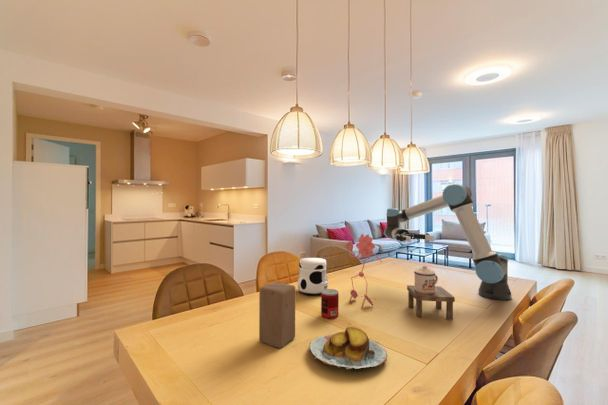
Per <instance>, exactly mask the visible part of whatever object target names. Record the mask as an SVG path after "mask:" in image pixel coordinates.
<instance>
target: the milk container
mask: <svg viewBox="0 0 608 405" xmlns="http://www.w3.org/2000/svg"><path fill="white" fill-rule="evenodd" d="M298 265H299V266H298V271H299V272H298V279H297V289H298V292H300V293H302V294H305V295H316V296H317V295H321V291H322V290H324V289H329V280H328V276H327V260H326V259H325V258H321V257H304V258H301V259H299V264H298Z"/></svg>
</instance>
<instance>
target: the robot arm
mask: <svg viewBox="0 0 608 405" xmlns="http://www.w3.org/2000/svg"><path fill="white" fill-rule="evenodd" d="M472 195H473V192H472V190H471V188H470V187H469V186H468V185H464V184H461V183H458V182H457V183H456V182H455V183H450V184H449V185H447V186H446V187H445V188H444V189H443V190H442V195H440V196H436V197H434V198H431V199H429V200H426V201H423V202H420V203H418V204H416V205H415V204H414V205H413V206H410V207H408V208H405V209H401V210H399V208H391V207H390V208H387V209H386V227H384V231H383V234H384V236H385V237H386V238H388V239H390V240H395V241H397V242H402V243H403V242H404V243H405V242H407V243H411V242H412V240H425V241H429V242H434V241H435V239H434V238H435V237H434V236H433V235H430V234H429V233H426V234H424V233H416V232H410V231H409V230H408V229H406V228H400V223H405V222H407V221H409V220H412V219H415V218H418V217H421V216H425V215H427V214H430V213H432V212H436V211H439V210H441V209H445V208H449V210H450V211H451V212H452V213H454V214H455V216H456V219H457V220H458V223H459V225H460V227H461V229H462V232H463V233H464V236H465V238H466V240H467V242H468V245H469V247H470V249H471V251H472V254H473V256H472V261H473V264H474V266H475V275H476V276H477V278H478V279H479V280H480V281H481V282H480V285H479V287H478V290H477V291H478V295H480V296H482V297H485V298H487V299H492V300H496V301H497V300H498V301H509V300H512V292H511V290H510V287H509V284H508V278H509V277H508V276H509V275H508V269H509V268H508V262H509V260H508V256H507V255H506V254H499V253H497V252H495V251H493V250H492V248H491V245H490V244H489V242H488V239H487V237H486V235H485V232H484V231H483V229H482V228H483V227H481V224H480V222H479V219H478V217H477V215H476V214H475V211H474V209H473V206H474V204H475V203H474V201H473V199H472V197H473V196H472Z"/></svg>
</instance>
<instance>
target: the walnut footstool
mask: <svg viewBox="0 0 608 405" xmlns="http://www.w3.org/2000/svg"><path fill="white" fill-rule="evenodd" d="M406 290H407V291H408V292H407V293H408V297H407V298H408V303H407V304H408V305H407V306H408V308H414V304H415V317H416V319H423V302H435V308H436V309H438V310H439V309H441V310H442V305H443V304H442V302H445V303H446V304H445V305H446V306H445V308H446V309H445V312H446V313H445V316H446V318H445V319H447V320H449V321H451V320H452V321H453V320H454V303H455V302H456V299H455V298H456V297H455V296H454V295H452V294H451V293H450V292H449V291H447V290H446V289H445V288H443V287H442V286H436V285H435V292H434V293H432V294H424V293H419V292H417V291H415V285H406ZM414 299H415V300H414ZM414 301H415V302H414Z"/></svg>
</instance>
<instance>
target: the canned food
mask: <svg viewBox="0 0 608 405" xmlns="http://www.w3.org/2000/svg"><path fill="white" fill-rule="evenodd" d="M320 295H321V296H320V298H321V300H320V301H321V302H320V311H321V312H320V314H321V317H322V318H323V319H327V320H332V319H333V320H334V319H336V318H338V317H339V306H340V305H339V300H340V298H339V296H340V294H339V291H338V290H337V289H335V288H327V289H324V290H322V291H321V294H320Z"/></svg>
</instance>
